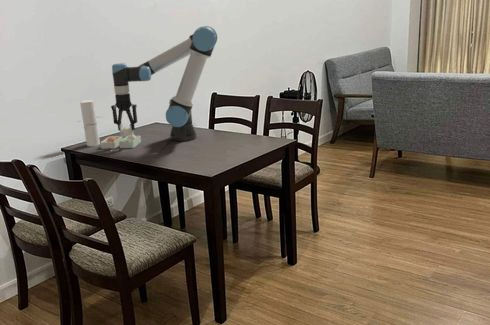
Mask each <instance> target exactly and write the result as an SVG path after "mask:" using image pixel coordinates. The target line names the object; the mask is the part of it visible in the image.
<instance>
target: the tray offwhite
mask: <svg viewBox="0 0 490 325" xmlns="http://www.w3.org/2000/svg"><path fill="white" fill-rule="evenodd" d="M112 136H113V135H112ZM109 137H110V136H108V137H106V138H105V139H104V140H101V141H100V149H101V150H104V149H105V150H107V149H109V150H110V149H117V148H118V146H119V142H120V141H121V140H122V139H124V138H123V137H124V136H123V137H121V135H120V136H119V135H118V136H117V135H115V136H113V137H115V138H116V140H115V141H114V142H107V139H108V138H109ZM119 147H120V146H119Z"/></svg>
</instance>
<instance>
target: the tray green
mask: <svg viewBox="0 0 490 325" xmlns="http://www.w3.org/2000/svg"><path fill="white" fill-rule="evenodd" d="M135 136H136V139H135V140H133V141H129V142H128V139H127V138H128V136H124V138H123V139H122V140H121V141H120V142H119V149H135V147H137V146H138V145H139V144H140V143H141V142H142V138H141V135H135Z"/></svg>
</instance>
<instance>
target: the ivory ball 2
mask: <svg viewBox="0 0 490 325" xmlns="http://www.w3.org/2000/svg"><path fill="white" fill-rule="evenodd" d="M136 136H137V135H135V134H134V136H133V137H131V135H130V136H128V138H127V139H128V142H129V141H133V140H135V139H136Z"/></svg>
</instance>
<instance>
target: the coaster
mask: <svg viewBox="0 0 490 325" xmlns="http://www.w3.org/2000/svg"><path fill="white" fill-rule="evenodd" d="M119 150H120V148H117V149H114V148H111V150H110V149H109V152H118V151H119Z"/></svg>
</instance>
